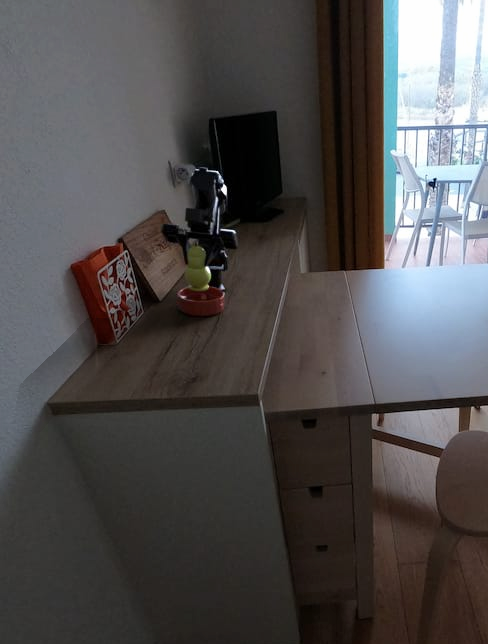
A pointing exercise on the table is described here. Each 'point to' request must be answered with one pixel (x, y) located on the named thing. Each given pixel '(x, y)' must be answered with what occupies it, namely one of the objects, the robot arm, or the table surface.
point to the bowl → (201, 301)
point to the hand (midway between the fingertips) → (195, 265)
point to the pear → (197, 269)
